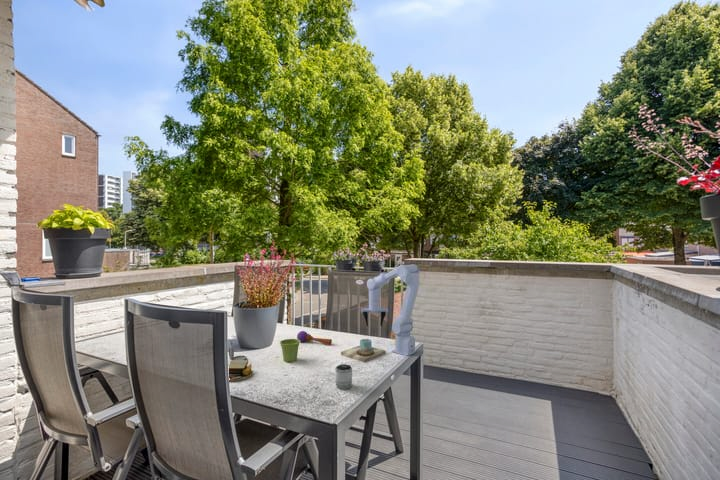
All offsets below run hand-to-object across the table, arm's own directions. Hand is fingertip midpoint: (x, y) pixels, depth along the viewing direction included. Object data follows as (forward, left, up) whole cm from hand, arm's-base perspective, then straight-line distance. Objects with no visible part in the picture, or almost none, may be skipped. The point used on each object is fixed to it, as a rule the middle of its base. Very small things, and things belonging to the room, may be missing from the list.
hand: (374, 325), depth 188 cm
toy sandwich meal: (+14, +73, -10) cm, 75 cm away
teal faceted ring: (-6, +14, -8) cm, 17 cm away
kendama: (+24, +22, -10) cm, 34 cm away
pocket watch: (+30, +64, -10) cm, 71 cm away
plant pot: (+12, +47, -10) cm, 49 cm away
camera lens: (-27, +51, -10) cm, 59 cm away
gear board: (-8, +18, -9) cm, 22 cm away
